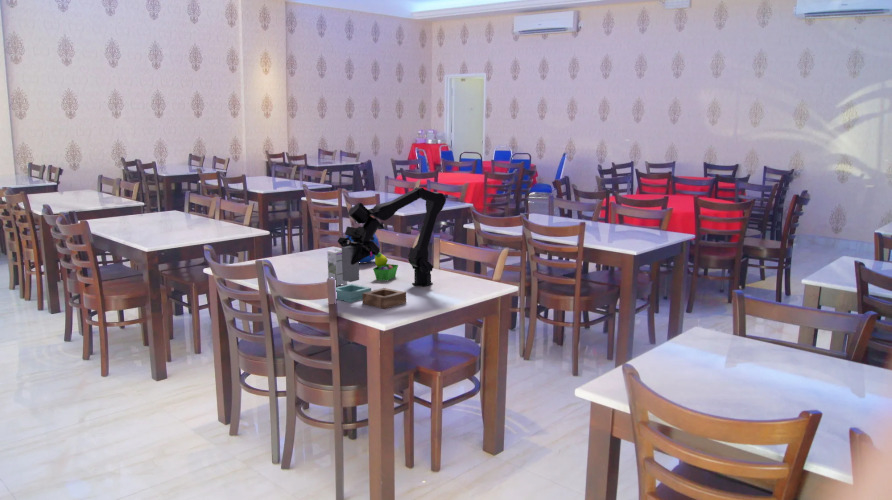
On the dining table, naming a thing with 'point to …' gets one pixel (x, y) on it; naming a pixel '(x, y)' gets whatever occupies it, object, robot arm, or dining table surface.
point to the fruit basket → (384, 268)
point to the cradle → (351, 292)
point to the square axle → (349, 264)
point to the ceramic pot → (371, 257)
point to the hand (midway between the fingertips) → (347, 263)
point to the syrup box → (335, 266)
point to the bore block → (384, 298)
